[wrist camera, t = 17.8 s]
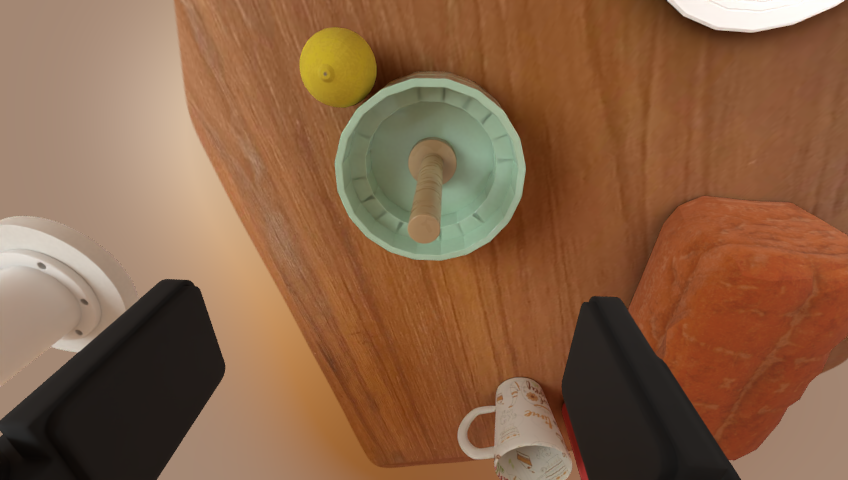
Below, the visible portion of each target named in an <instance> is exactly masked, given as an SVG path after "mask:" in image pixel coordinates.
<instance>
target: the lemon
mask: <svg viewBox="0 0 848 480" xmlns="http://www.w3.org/2000/svg"><path fill="white" fill-rule="evenodd" d="M300 73H301V78H302V80H303V83H304V85H305V87H306V88H307V90H308V91H309V92H310V94H311V95H312V96H314V97H315V98H316V99H317V100H318V101H320V102H322V103H324V104H326V105H329V106H333V107H349V106H352V105H355V104H357V103H359V102H360V101H362V100H363V99H364V98H365V97H366V96H367V95H368V94H369V93H370V91H371V90H372V88H373V86H374V84H375V79H376V75H377V65H376V61H375V57H374V54H373V52H372V50H371V48H370V46H369V45H368V44H367V43H366V41H365V40H364V39H363V38H362V37H360V36H359V35H358V34H357V33H355V32H353V31H351V30H348V29H345V28H338V27H333V28H326V29H323V30H321V31H319V32H317V33H315V34H314V35H313V36H312V37H311V38H310V39H309V40H308V41H307V43H306V44H305V46H304V48H303V50H302V53H301V57H300Z"/></svg>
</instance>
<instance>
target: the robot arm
mask: <svg viewBox="0 0 848 480" xmlns="http://www.w3.org/2000/svg"><path fill="white" fill-rule="evenodd" d="M100 319H101V308H100V303H99V301H98V298H97V296H96V294H95V293H94V291H93V290H92V288H91V287H90V286H89V284H88V283H87V282H86V281H85V280H84V279H83V278H82V277H81V276H80V275H79V274H77V273H76V272H75V271H74V270H73V269H71V268H70V267H68V266H67V265H65V264H64V263H62V262H60V261H58V260H56V259H54V258H52V257H50V256H47V255H45V254H42V253H39V252H35V251H31V250H25V249H9V250H5V251H1V252H0V387H1V386H2V385H3V384H5V383H6V382H7V381H8V380H10V379H11V378H12V377H13V376H14V375H16V374H17V373H18V372H19V371H21V370H22V369H23V368H24V367H26V366H27V365H28V364H30V363H31V362H32V361H34V360H35V359H36V358H37V357H39V356H40V355H41V354H42V353H44V352H45V351H46V350H47V349H49V348H50V347H51V346H52V345H54V344H55V343H56V342H57V341H59V340H63V341H64V340H76V339H80V338H83V337H85V336H87V335H88V334H89V333H90V332H92V331H93V330H94V329H95V328H96V327H97V326H98V324H99V322H100ZM224 373H225V363H224V359H223V357H222V354H221V351H220V348H219V345H218V342H217V339H216V336H215V333H214V330H213V327H212V324H211V321H210V318H209V315H208V312H207V309H206V306H205V303H204V300H203V297H202V294H201V291H200V289H199V288H198V287H196V286H194V284H193V283H192V282H191V281H189V280H174V279H173V280H172V279H165V280H162V281H160V282H159V283H158V284H156V285H155V286H154V287H153V288H152V289H151V290H150V291H148V292H147V293H146V294H145V295H144V296H143V297H141V298H140V299H139V300H138V301H137V302H136V303H135V304H133V305H132V306H131V307H130V308H129V309H128V310H127V311H125V312H124V313H123V314H122V315H121V316H120V317H118V318H117V319H116V320H115V321H114V322H113V323H112V324H110V325H109V326H108V327H107V328H106V329H105V330H104V331H102V332H101V333H100V334H99V335H98V336H97V337H96V338H94V339H93V340H92V341H91V342H90V343H89V344H87V345H86V346H85V347H84V348H83V349H82V350H81V351H79V352H78V353H77V354H76V355H75V356H74V357H73V358H71V359H70V360H69V361H68V362H67V363H66V364H65V365H63V366H62V367H61V368H60V369H59V370H58V371H56V372H55V373H54V374H53V375H52V376H51V377H50V378H48V379H47V380H46V381H45V382H44V383H43V384H42V385H41V386H39V387H38V388H37V389H36V390H35V391H33V393H31V394H30V395H29V396H28V397H27V398H25V399H24V400H23V401H22V402H21V403H20V404H19V405H17V406H16V407H15V408H14V409H13V410H12V411H11V412H9V413H8V414H7V415H6V416H5V417H4V418H2V420H0V431H1V432H2V433H3V435H2V436H1V437H0V480H157V478H158V477H159V475H160V473H161V472H162V470H163V469H164V467H165V466H166V464H167V463H168V461H169V460H170V458H171V457H172V455H173V454H174V452H175V451H176V449H177V447H178V446H179V444H180V443H181V441H182V440H183V438H184V437H185V435H186V434H187V432H188V430H189V429H190V427H191V426H192V424H193V423H194V421H195V420H196V418H197V417H198V415H199V414H200V412H201V410H202V409H203V407H204V406H205V404H206V403H207V401H208V400H209V398H210V397H211V395H212V394H213V392H214V391H215V389H216V387H217V386H218V384H219V383H220V381H221V380H222V378H223V376H224ZM562 394H563V398H564V402H565V405H566V408H567V411H568V415H569V418H570V421H571V424H572V428H573V431H574V434H575V437H576V441H577V444H578V447H579V450H580V454H581V457H582V460H583V463H584V467H585V470H586V473H587V476H588V479H589V480H741V479H740V478H739V476H738V474H737V472H736V471H735V469H734V468H733V466H732V465H731V463H730V462H729V460H728V459H727V457H726V455H725V454H724V452H723V451H722V449H721V448H720V446H719V445H718V443H717V442H716V440H715V438H714V437H713V435H712V434H711V432H710V431H709V429H708V428H707V426H706V425H705V423H704V421H703V420H702V418H701V417H700V415H699V414H698V412H697V411H696V409H695V408H694V406H693V404H692V403H691V401H690V400H689V398H688V397H687V395H686V394H685V392H684V391H683V389H682V387H681V386H680V384H679V383H678V381H677V380H676V378H675V377H674V375H673V374H672V372H671V370H670V369H669V367H668V366H667V364H666V363H665V362H664V361H663V360H662V359H661V358H659V357H658V356H657V355H656V354H655V352H654V351H653V349H652V348H651V346H650V344H649V343H648V341H647V340H646V338H645V337H644V335H643V333H642V332H641V330H640V329H639V327H638V325H637V324H636V322H635V321H634V319H633V318H632V316H631V314H630V313H629V311H628V310H627V308H626V307H625V305H624V303H623V302H622V300H621V299H620V298H618V297H600V296H593V297H591V299H590V300H589V302H584V303H583V304H582V306H581V309H580V313H579V317H578V321H577V325H576V328H575V332H574V336H573V340H572V344H571V348H570V352H569V356H568V360H567V364H566V368H565V372H564V376H563V379H562Z"/></svg>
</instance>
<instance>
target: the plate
mask: <svg viewBox="0 0 848 480" xmlns="http://www.w3.org/2000/svg"><path fill="white" fill-rule="evenodd" d="M666 1H667V2H668V3H669V4H670V5H672V6H673V7H674V8H675V9H676V10H677V11H678V12H679V13H680V14H681V15H682V16H684V17H686V18H688V19H691V20H693V21H695V22H698V23H700V24H702V25H705V26H707V27H709V28H712V29H714V30H724V31H737V32H750V33H753V32H759V31H764V30H769V29H774V28H779V27H784V26H789V25H794V24H796V23H798V22H801V21H803V20H805V19H807V18H810V17H812V16H814V15H816V14H819V13H821V12H823V11H826V10H828V9H830V8H832V7H835V6H837V5H838V4H840V3H841V2H843V1H844V0H666Z"/></svg>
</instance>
